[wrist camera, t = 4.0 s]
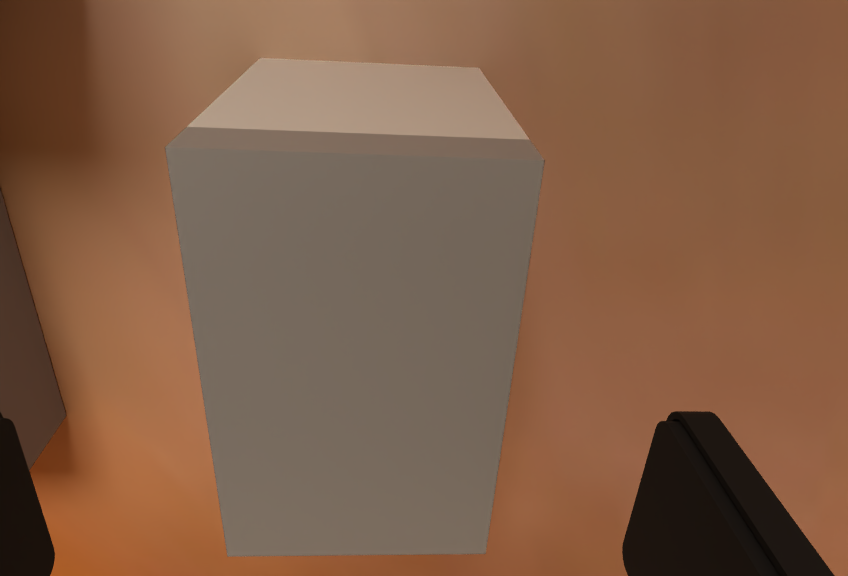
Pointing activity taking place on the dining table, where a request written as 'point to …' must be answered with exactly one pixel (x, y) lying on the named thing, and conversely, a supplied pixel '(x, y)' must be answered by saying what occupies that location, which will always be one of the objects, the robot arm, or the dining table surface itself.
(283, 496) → the grey bevelled box
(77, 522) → the dining table surface
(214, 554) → the dining table surface
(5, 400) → the domed grey panel
